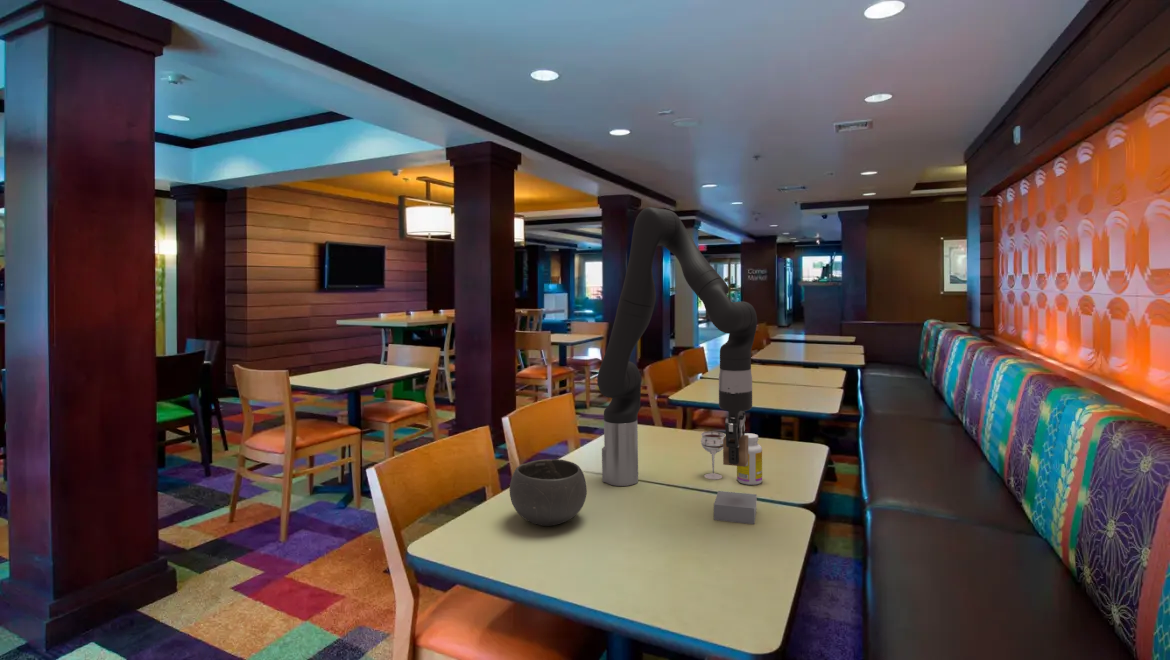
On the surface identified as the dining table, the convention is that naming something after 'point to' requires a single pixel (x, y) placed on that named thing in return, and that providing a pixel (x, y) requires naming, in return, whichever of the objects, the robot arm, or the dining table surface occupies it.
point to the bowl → (548, 491)
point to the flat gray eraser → (735, 507)
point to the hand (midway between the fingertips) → (735, 459)
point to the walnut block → (742, 451)
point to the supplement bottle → (751, 463)
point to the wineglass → (712, 448)
